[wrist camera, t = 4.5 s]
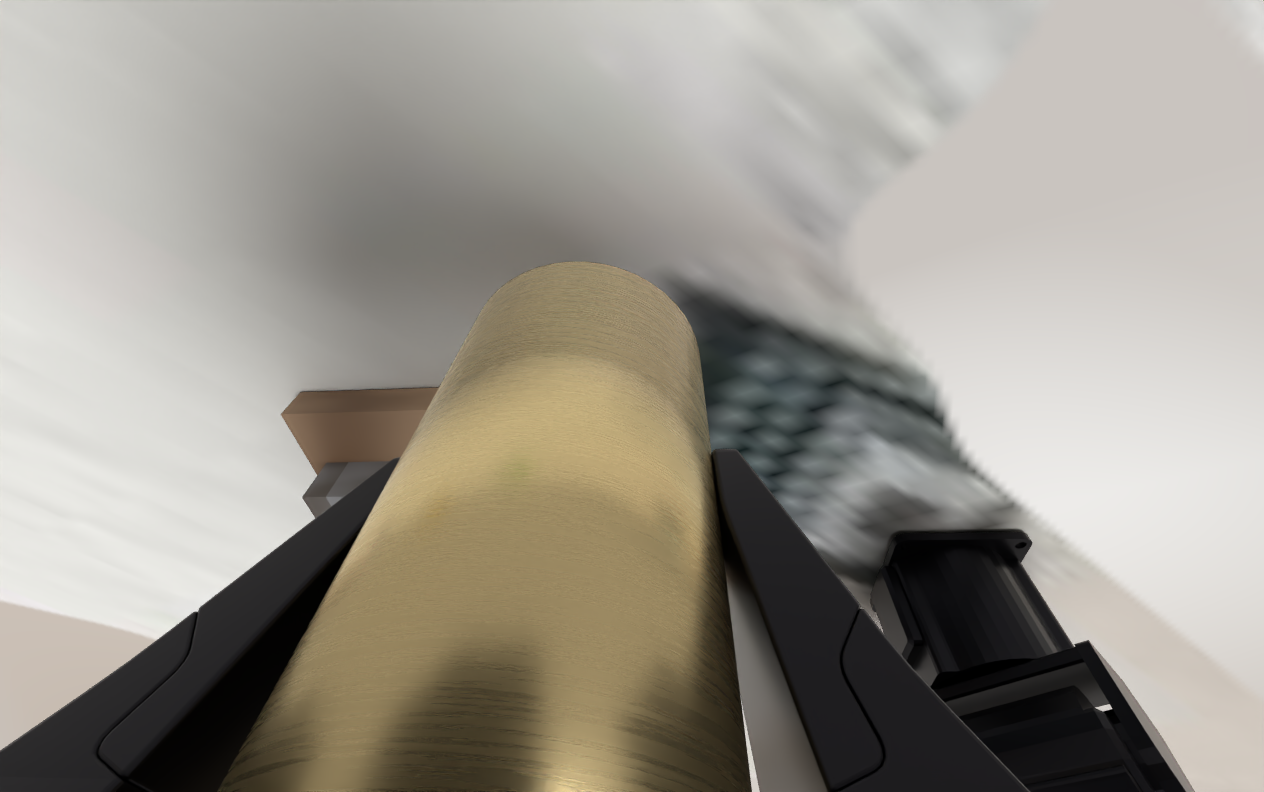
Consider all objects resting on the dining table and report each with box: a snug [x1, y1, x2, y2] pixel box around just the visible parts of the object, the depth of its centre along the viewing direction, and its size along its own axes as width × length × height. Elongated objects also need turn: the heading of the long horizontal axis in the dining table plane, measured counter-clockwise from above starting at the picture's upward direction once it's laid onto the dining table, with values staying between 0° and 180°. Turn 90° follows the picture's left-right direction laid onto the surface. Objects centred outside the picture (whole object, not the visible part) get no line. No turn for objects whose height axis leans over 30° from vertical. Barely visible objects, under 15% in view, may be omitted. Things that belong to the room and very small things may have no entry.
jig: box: [281, 388, 439, 518], centre depth 25 cm, size 16×14×4 cm
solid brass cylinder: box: [217, 262, 752, 792], centre depth 8 cm, size 5×5×9 cm
